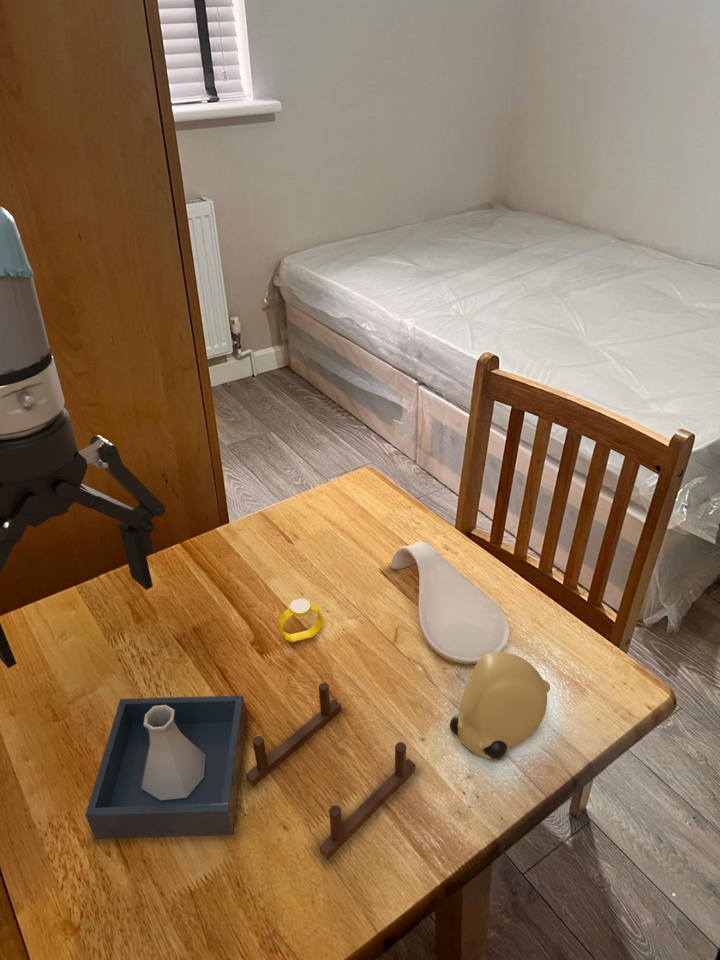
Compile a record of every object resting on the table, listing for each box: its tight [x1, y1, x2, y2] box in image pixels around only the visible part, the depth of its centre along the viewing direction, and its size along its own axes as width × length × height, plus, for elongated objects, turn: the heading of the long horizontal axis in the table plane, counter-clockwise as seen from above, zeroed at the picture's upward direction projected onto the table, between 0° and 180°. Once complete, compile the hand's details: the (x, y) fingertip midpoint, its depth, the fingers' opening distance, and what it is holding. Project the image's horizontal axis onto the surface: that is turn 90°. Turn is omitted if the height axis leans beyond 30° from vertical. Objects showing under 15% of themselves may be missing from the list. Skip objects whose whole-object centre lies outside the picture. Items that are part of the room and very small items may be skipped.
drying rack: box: [245, 681, 416, 860], centre depth 81 cm, size 14×13×6 cm
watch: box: [277, 598, 324, 643], centre depth 99 cm, size 6×3×6 cm, turn 111°
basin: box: [85, 694, 248, 840], centre depth 82 cm, size 15×15×5 cm
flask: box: [141, 705, 206, 800], centre depth 80 cm, size 7×7×10 cm
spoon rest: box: [390, 540, 511, 665], centre depth 101 cm, size 24×12×7 cm, turn 25°
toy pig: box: [449, 651, 551, 761], centre depth 85 cm, size 10×12×11 cm
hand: (78, 617), depth 68 cm, fingers open, 13 cm apart
